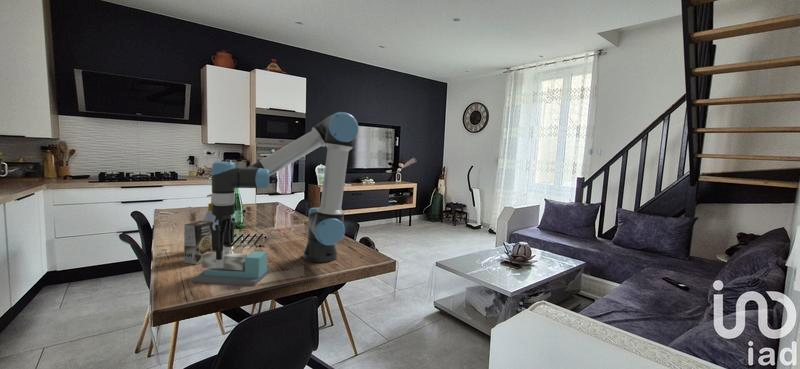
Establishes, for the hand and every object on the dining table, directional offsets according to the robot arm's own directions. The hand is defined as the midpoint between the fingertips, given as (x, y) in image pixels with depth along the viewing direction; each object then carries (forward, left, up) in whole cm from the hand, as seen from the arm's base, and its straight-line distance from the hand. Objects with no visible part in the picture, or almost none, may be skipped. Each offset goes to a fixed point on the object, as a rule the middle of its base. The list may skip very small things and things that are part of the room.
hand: (223, 265), depth 128 cm
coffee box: (+18, -15, -4) cm, 24 cm away
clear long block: (-1, 0, -1) cm, 1 cm away
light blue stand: (-4, 0, -4) cm, 6 cm away
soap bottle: (+20, -30, -4) cm, 36 cm away
